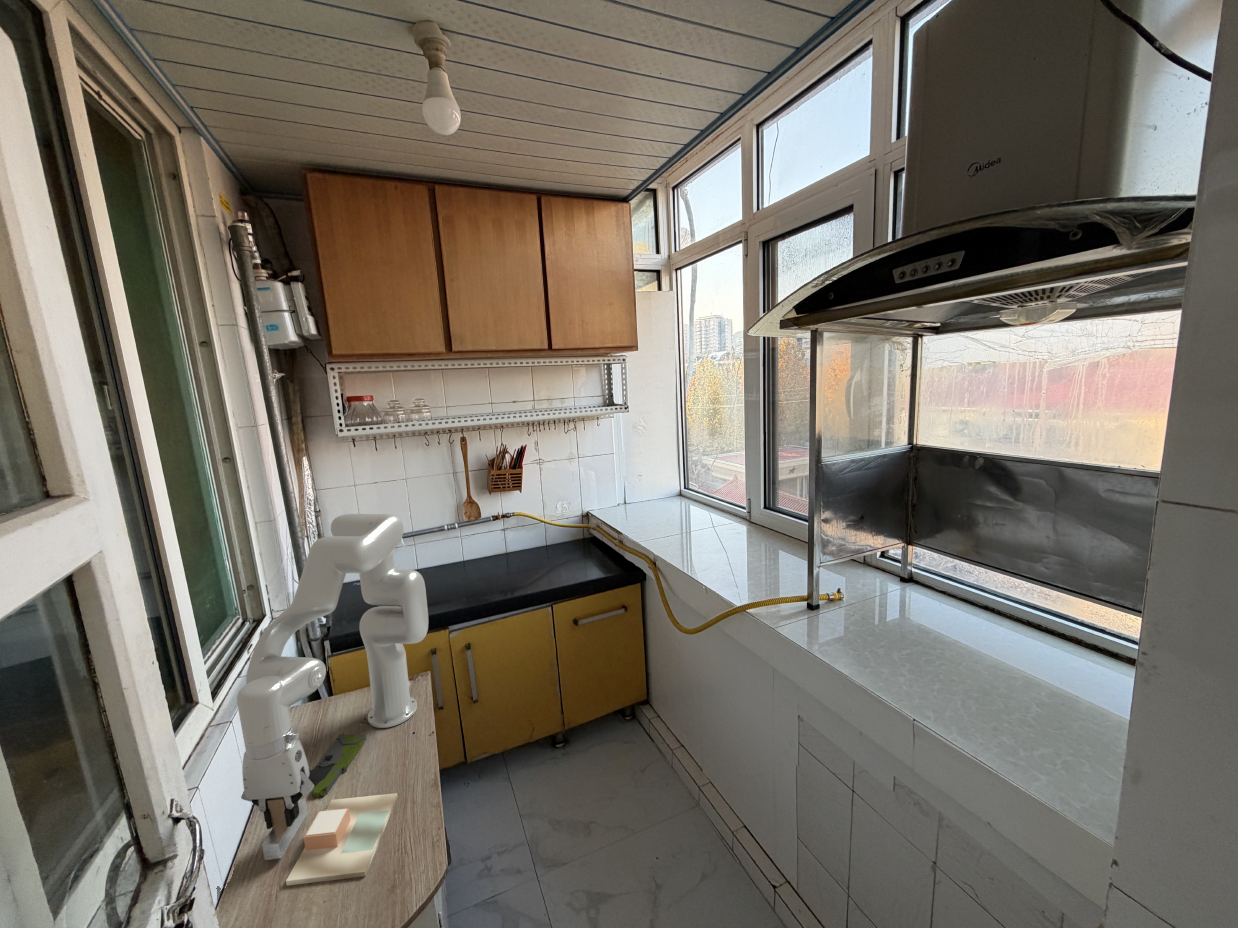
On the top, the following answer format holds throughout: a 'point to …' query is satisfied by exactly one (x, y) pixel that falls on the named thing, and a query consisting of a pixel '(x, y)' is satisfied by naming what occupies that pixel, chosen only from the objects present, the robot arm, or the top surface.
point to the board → (347, 842)
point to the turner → (281, 828)
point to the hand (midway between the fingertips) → (283, 820)
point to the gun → (334, 763)
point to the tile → (327, 829)
